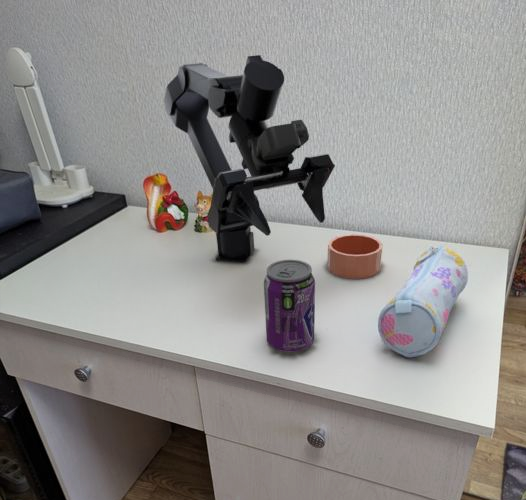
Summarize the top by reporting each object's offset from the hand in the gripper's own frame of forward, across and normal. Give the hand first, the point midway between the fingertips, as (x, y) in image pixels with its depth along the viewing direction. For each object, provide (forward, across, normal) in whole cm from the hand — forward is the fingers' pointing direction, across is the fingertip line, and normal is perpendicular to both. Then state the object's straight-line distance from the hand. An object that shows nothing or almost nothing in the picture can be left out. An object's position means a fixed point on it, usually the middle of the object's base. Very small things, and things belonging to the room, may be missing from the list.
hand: (296, 227), depth 73 cm
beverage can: (+15, -6, +7) cm, 17 cm away
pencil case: (+20, +14, +3) cm, 24 cm away
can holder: (+2, +17, +16) cm, 24 cm away
